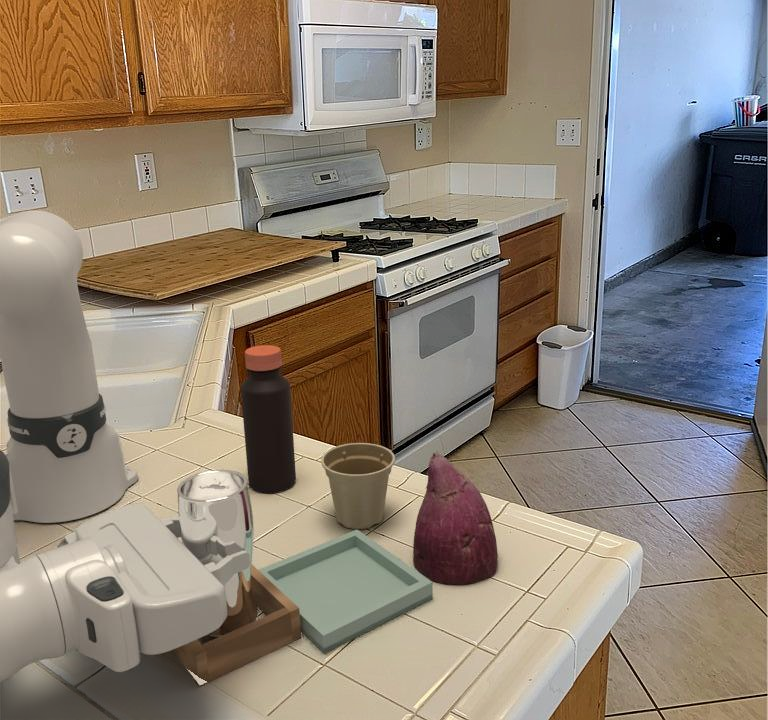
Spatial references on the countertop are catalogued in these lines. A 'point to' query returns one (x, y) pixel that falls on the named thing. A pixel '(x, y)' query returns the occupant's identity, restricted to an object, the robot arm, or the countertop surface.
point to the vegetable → (453, 529)
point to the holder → (246, 634)
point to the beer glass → (220, 534)
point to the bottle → (267, 421)
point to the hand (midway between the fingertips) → (227, 538)
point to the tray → (347, 588)
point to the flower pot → (358, 482)
